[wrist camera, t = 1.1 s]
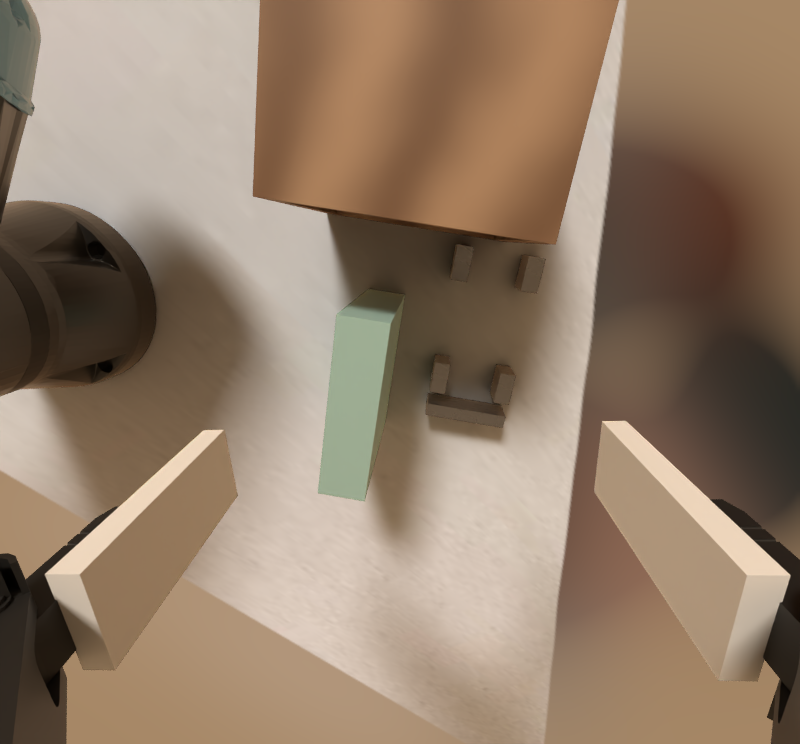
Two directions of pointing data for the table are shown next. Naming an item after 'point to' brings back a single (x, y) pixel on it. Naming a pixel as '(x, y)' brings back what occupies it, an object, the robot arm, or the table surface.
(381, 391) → the door
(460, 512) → the table surface
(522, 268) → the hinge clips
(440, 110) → the cabinet
